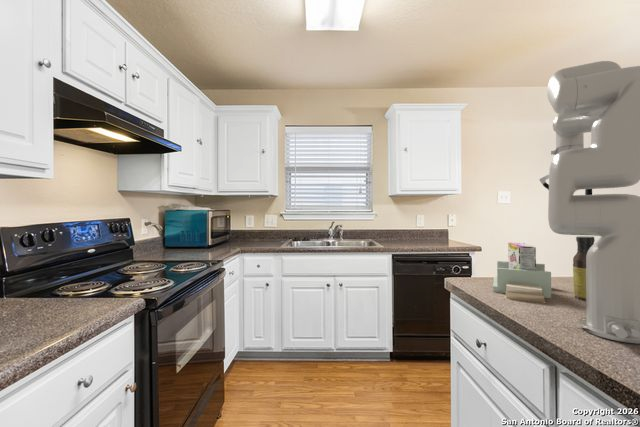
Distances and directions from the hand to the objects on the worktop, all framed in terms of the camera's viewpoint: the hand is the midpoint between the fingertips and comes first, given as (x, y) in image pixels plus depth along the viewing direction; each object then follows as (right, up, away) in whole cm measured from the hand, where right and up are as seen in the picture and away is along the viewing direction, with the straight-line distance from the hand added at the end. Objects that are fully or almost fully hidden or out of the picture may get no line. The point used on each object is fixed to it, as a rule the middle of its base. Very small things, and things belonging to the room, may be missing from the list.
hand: (569, 200), depth 106 cm
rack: (-21, -31, -6) cm, 38 cm away
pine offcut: (-27, -32, -16) cm, 45 cm away
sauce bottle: (-9, -32, -17) cm, 37 cm away
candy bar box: (-21, -32, -6) cm, 38 cm away
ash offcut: (-27, -29, -15) cm, 42 cm away
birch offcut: (-27, -31, -16) cm, 44 cm away
